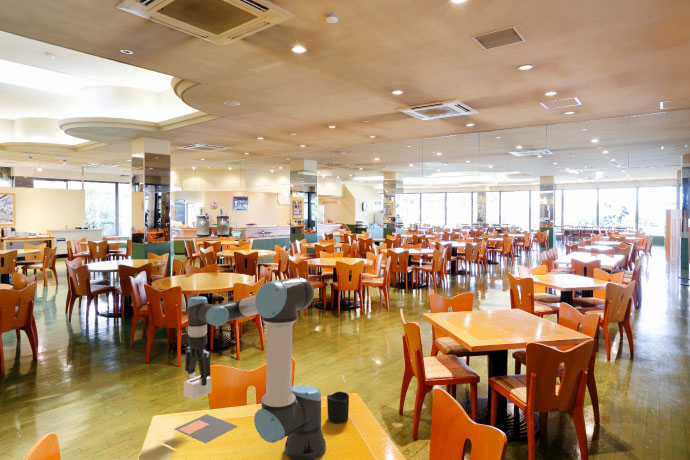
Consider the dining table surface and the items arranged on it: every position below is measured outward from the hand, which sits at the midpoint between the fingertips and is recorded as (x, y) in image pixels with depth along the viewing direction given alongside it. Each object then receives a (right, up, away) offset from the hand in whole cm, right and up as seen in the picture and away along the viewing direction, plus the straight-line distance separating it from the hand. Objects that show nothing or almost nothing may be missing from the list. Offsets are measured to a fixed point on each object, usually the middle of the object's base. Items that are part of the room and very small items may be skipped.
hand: (197, 390), depth 172 cm
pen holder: (+58, -15, +8) cm, 60 cm away
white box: (0, -1, 0) cm, 1 cm away
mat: (+4, -15, -1) cm, 16 cm away
